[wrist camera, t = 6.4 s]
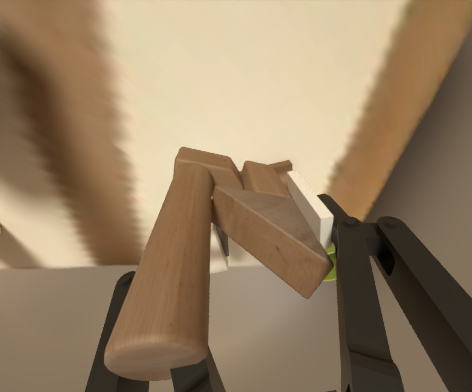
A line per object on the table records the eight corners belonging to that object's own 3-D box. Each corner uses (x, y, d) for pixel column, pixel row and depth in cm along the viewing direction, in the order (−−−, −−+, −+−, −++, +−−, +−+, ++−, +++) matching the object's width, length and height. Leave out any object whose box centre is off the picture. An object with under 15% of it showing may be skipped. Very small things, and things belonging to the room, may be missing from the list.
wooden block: (263, 190, 25) (340, 377, 10) (177, 174, 22) (99, 387, 7) (273, 164, 23) (389, 344, 8) (180, 144, 20) (85, 343, 5)
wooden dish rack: (187, 183, 45) (174, 229, 31) (289, 160, 44) (321, 197, 30) (205, 227, 52) (200, 280, 39) (292, 208, 51) (319, 256, 38)
